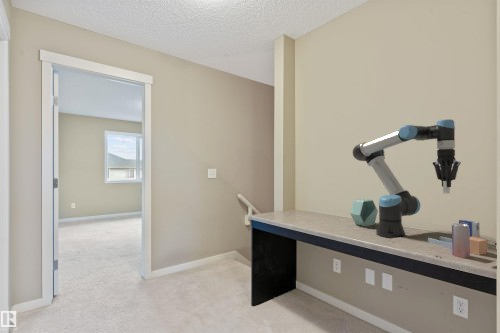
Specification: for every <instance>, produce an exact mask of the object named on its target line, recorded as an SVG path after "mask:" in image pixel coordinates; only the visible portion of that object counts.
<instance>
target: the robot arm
mask: <svg viewBox="0 0 500 333" xmlns="http://www.w3.org/2000/svg"><path fill="white" fill-rule="evenodd" d="M455 129H456V127H455V121H454V119H439V120H437V121H436V124H435V125H426V126H423V125H413V124H405V125H402V126H401V127H400V128H399V130H396V131H393V132H391V133H388V134H385V135H382V136H380V137H378V138H376V139H373V140H370V141H368V142H361V143H359V144H357V145H355V146H354V147H353V149H352V156H353V158H354V159H355V160H357V161H360V162H366V163H367V166H368V167H372V169H373V171H374V172H375V174H376V175H377V177H378V179H379V180H380V181H381V183H382V185H383V186H384V189H386V191H387V194H386V195H382V196H380V197H379V200H378V213H379V215H378V216H379V221H378V223H377V228H376V232H375V234H376V235H377V236H379V237H383V238H387V239H389V238H390V239H396V238H405V237H406V232H405V229H404V226H403V223H402V222H403V221H402V218H403V217H406V216H407V217H408V216H410V217H411V216H414V215H416V214H417V213H418V212H419V211H420V209H421V202H420V199H419V198H418V197H416V196H414V195H411V193H410V192H409V191H408V190H406V189H404V187H403V185H401V183H400V182H399V180H398V179H397V177H396V176H395V175H394V173H393V171H392V170H391V168H390V166H389V165H388V164H387V162H386V161H385V158H386V157H385V156H386V154H385V152H386V151H385V150H386V149H389V148H390V147H393V146H394V147H395V146H396V145H399V144H403V143H406V142H408V141H411V140H414V141H415V140H416V141H427V140H429V141H430V140H436V145H437V146H436V148H437V150H436V155H437V159H436V161H434V162H432V165H433V166H434V170H435V174H436V178H437V179H438V180H440V181H441V187H442V194H451V192H450V190H451V189H450V188H451V187H452V181H454V180H456V178H457V174H458V170H459V166H460V165H461V163H462V162H461V161H457V159H456V157H455V156H456V149H455V148H456V141H455V140H456V139H455V131H456V130H455ZM384 149H385V150H384ZM388 194H389V195H388Z"/></svg>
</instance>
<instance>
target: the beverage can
mask: <svg viewBox="0 0 500 333" xmlns="http://www.w3.org/2000/svg"><path fill="white" fill-rule="evenodd" d="M451 239H452V249H451V250H452V253H451V255H452V256H454V257H457V258H460V259H471V253H470V228H469V225H466V224H459V222H458V223H457V222H456V223H452V225H451Z"/></svg>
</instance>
